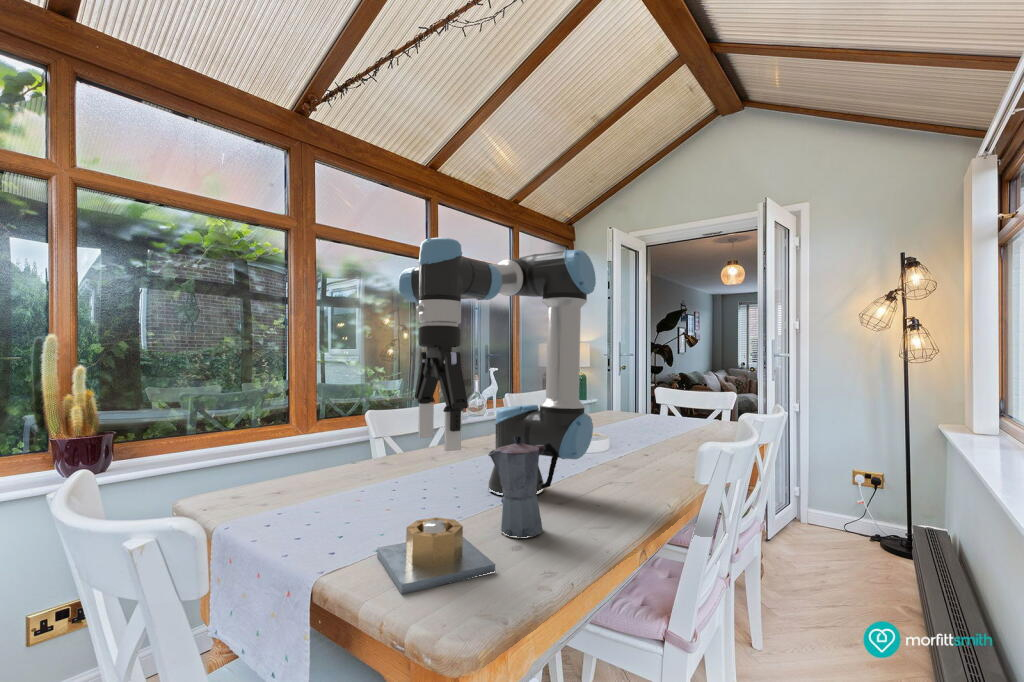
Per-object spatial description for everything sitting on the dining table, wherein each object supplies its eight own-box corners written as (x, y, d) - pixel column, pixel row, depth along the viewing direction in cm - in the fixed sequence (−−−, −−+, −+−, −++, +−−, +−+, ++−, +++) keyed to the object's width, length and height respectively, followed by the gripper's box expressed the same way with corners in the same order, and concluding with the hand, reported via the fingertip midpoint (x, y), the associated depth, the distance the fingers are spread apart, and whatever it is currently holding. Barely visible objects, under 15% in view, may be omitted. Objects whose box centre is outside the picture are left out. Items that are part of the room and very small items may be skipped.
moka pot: (480, 527, 103) (482, 433, 104) (546, 520, 109) (547, 430, 109) (495, 544, 94) (496, 440, 95) (566, 534, 100) (567, 437, 100)
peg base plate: (458, 541, 96) (459, 505, 96) (495, 573, 82) (495, 531, 82) (377, 555, 88) (377, 517, 88) (401, 594, 74) (402, 547, 74)
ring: (449, 542, 91) (449, 515, 91) (468, 560, 83) (468, 530, 83) (401, 550, 87) (402, 522, 87) (417, 570, 79) (417, 539, 79)
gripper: (399, 327, 97) (398, 434, 96) (445, 320, 75) (443, 459, 74) (435, 328, 100) (434, 431, 100) (489, 322, 78) (487, 454, 78)
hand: (438, 443), depth 87 cm, fingers open, 13 cm apart
